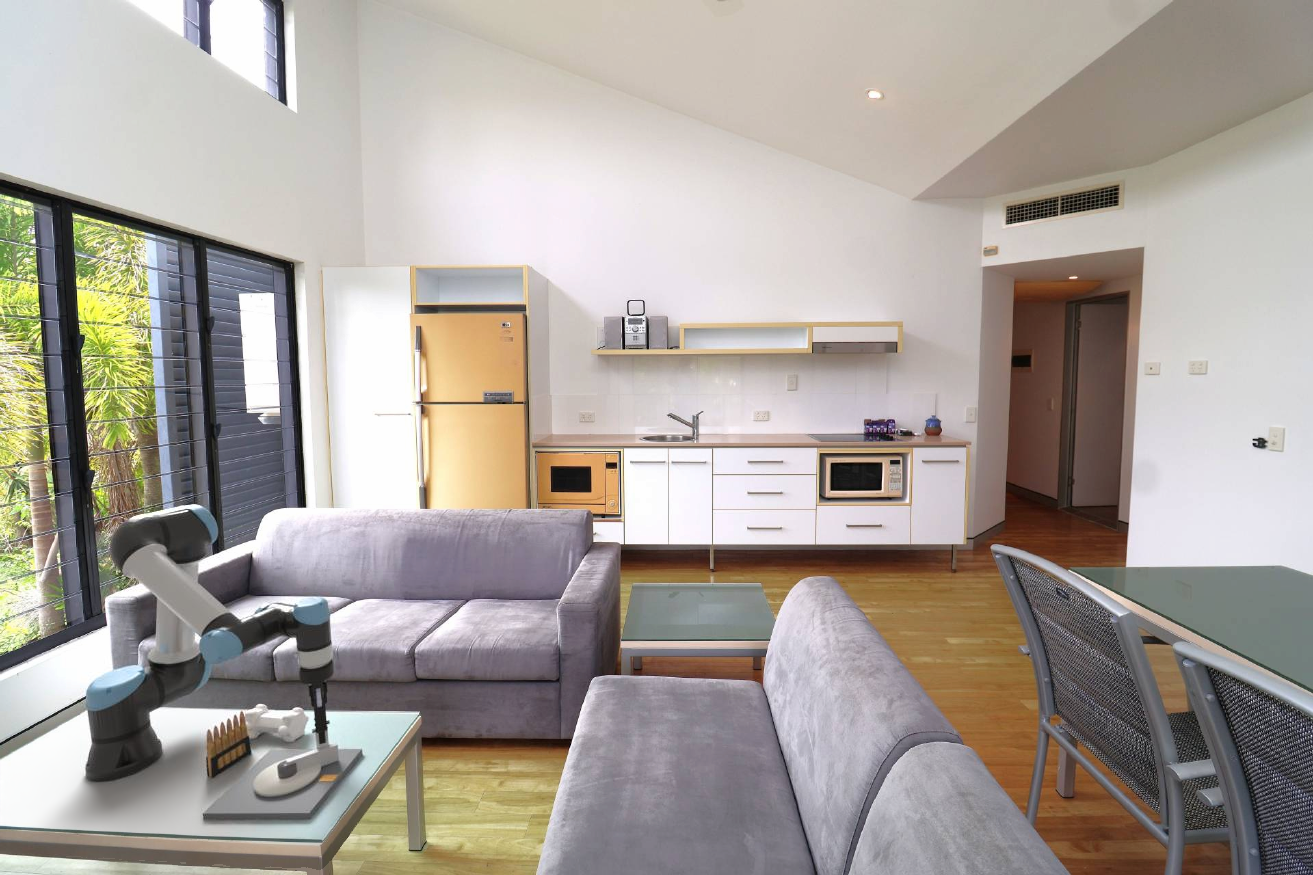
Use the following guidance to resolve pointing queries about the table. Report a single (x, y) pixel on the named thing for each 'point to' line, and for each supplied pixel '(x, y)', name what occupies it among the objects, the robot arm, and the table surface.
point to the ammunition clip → (227, 746)
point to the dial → (294, 772)
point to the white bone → (276, 723)
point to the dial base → (295, 805)
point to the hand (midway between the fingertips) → (323, 752)
